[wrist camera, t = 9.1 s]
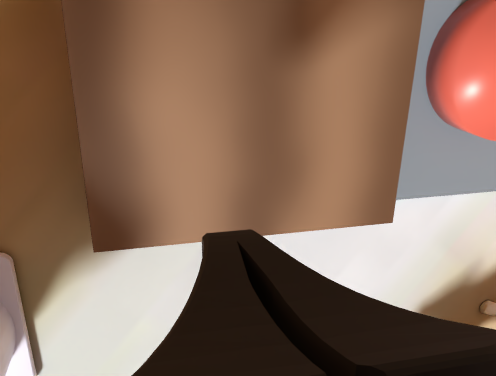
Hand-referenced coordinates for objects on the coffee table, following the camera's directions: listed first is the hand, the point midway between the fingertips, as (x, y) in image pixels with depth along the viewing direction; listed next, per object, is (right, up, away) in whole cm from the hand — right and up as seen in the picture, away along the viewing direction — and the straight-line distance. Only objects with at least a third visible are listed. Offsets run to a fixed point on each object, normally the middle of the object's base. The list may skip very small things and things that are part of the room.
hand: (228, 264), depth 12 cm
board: (0, +8, +8) cm, 12 cm away
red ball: (+13, +8, +11) cm, 19 cm away
